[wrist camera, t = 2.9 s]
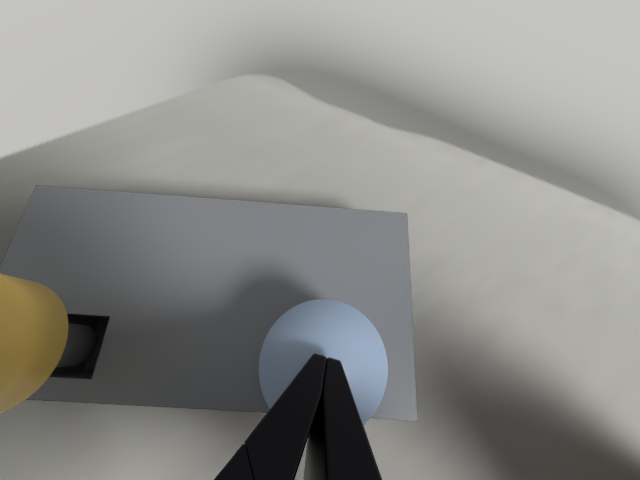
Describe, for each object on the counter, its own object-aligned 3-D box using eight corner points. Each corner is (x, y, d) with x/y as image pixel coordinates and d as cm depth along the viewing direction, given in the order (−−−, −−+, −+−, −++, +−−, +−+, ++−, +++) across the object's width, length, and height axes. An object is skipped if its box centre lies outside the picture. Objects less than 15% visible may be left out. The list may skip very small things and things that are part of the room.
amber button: (147, 339, 12) (23, 332, 7) (61, 423, 11) (-170, 497, 6) (88, 277, 13) (-66, 228, 8) (2, 351, 12) (-255, 354, 6)
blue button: (372, 352, 15) (412, 355, 9) (321, 423, 14) (333, 474, 8) (312, 300, 15) (316, 274, 10) (258, 362, 14) (230, 373, 9)
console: (386, 240, 18) (407, 213, 15) (389, 402, 15) (417, 420, 12) (92, 219, 18) (36, 185, 14) (34, 382, 15) (-58, 394, 11)
